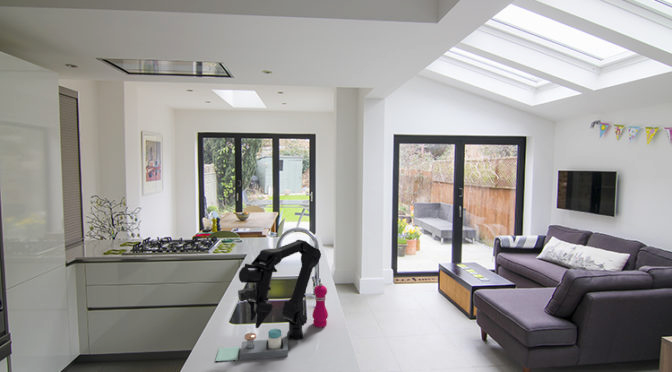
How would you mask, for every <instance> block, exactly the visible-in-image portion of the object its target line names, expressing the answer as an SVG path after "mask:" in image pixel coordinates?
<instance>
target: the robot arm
mask: <svg viewBox="0 0 672 372" xmlns="http://www.w3.org/2000/svg"><path fill="white" fill-rule="evenodd" d="M297 253H299V254H300V262H301V268H300V271H299V273H298V276H297V279H296V283H295V285H294V289H293V292H292V294H291V295H292V296H291V298H289V300H285V302H284V303H283V308H282V310H281V311H282V312H281V313H282V317H283V319H284V321H286V322H288V331H287V340H300V339H301V340H302V339H304V333H303V327H304V326H305V325H306V324H307V320H308V317H307V316H306V315H305V314H304V302H303V301H304V297H305V294H306V291H307V288H308V285H309V282H310V278H311V275H312V272H313V269H314V268H316V266H317V265H318V264H319V262H320V259H321V257H322V253H321V250H320V249H319V248H316V247H315V246H313V245H311V244H310V243H308V241H306V240H303V239H296V240H295V241H293V242H290V243H287V244H285V245H282V246H279V247H277V248H276V247H275V248H264V249H261V250H260V252H259V254H257V256H256V257H255V259H253V261H252V262H251V264H249V263H245V264H244V266H243V267H241V269H240V270H239V272H238V280H239V281H240V282H241V283H245V284H246V283H247V284H248V283H249V284H250V283H251V284H252V287H248V288H243V289H239V290H237V296H238V300H239V301H240V302H245V301H246V302H247V304H248V305H249V320H250V321H252V322H253V321H254V320H255V329H259V328H260V326H261V325H262V324H263V322H264V321H265V320H266V318H267V317H268V316H269V314H271V313H272V312H273V308H274V305H273V304H272V303H271V302H270V300H269V299H270V298H269V297H268V296H269V292H270V291H271V290H272V287H271V282H272V277H273V273H277V272H278V270H277V269H276V266H277V265H278V264H280V263H281V262H282V260H283V259H284V258H285V259H286V258H287V257H290V256H291V255H294V254H297Z"/></svg>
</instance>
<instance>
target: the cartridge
mask: <svg viewBox="0 0 672 372" xmlns="http://www.w3.org/2000/svg"><path fill="white" fill-rule="evenodd" d="M267 332H268V336H267V337H268V339H267V340H268V347H267V350H274V349H282V346H281V339H282V330H281V329H279V328H273V329H270V330H268V331H267Z"/></svg>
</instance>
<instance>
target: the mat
mask: <svg viewBox="0 0 672 372" xmlns="http://www.w3.org/2000/svg"><path fill="white" fill-rule="evenodd" d="M240 349H241V347H240V346H230V347H219V348H218V351H217V354H216V357H215V360H214V361H215V363H217V362H216V361H223V362H232V361H233V360H235V361H238V360H239V359H238V358H239V355H240ZM233 362H234V361H233Z"/></svg>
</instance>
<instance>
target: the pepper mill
mask: <svg viewBox="0 0 672 372" xmlns="http://www.w3.org/2000/svg"><path fill="white" fill-rule="evenodd" d="M327 293H328V289H327V287H326V286H325V285H324V284H323V282H318V285H316V286H315V287H314V290H313V294H314V295H315V296H314V299H315V306H314V308H313V311H312V318H313V321H312V322H313V323H312V324H313V326H314V327H316V328H324V327H326V326H327V325H328V323H327V321H328V320H327V319H328V317H329V313H328V310H327V307H326V303H325V302H326V298H327Z"/></svg>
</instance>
